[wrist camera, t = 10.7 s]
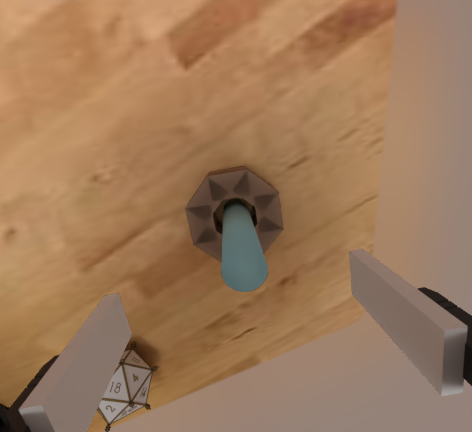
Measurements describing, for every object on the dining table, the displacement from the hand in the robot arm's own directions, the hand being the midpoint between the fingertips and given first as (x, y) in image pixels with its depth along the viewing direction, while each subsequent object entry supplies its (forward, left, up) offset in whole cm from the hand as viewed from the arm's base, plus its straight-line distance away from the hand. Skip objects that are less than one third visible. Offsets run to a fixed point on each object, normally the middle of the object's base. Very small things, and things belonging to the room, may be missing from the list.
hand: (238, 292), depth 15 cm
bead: (0, 0, -18) cm, 18 cm away
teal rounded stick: (+1, 0, -18) cm, 18 cm away
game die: (-18, -19, -19) cm, 32 cm away
